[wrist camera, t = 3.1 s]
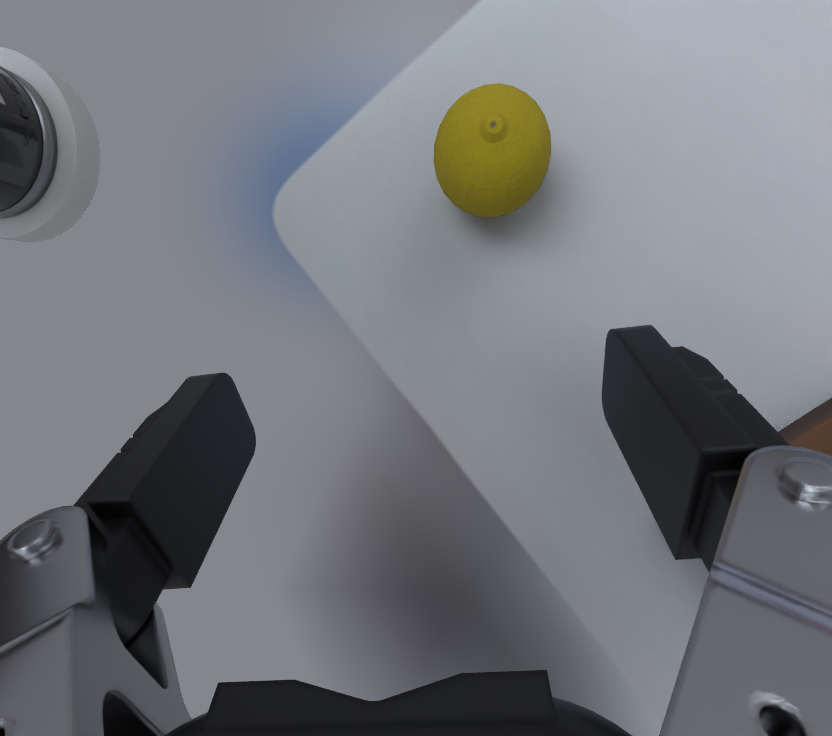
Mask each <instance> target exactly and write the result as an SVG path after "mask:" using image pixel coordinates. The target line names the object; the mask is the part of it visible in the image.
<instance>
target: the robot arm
mask: <svg viewBox="0 0 832 736" xmlns="http://www.w3.org/2000/svg"><path fill="white" fill-rule="evenodd" d="M57 154H58V145H57V135H56V130H55V126H54V122H53V119H52V117H51V114H50V112H49V110H48V108H47V106H46V104H45V102H44V100H43V99H42V97H41V96H40V95H39V93H38V92H37V91H36V90H35V89H34V88H33V87H32V86H31V85H30V84H29V83H28V82H27V81H26V80H24V79H23V78H22V77H20V76H18V75H17V74H15V73H13V72H11V71H9V70H7V69H5V68H3V67H1V66H0V218H9V217H14V216H17V215H20V214H22V213H24V212H26V211H27V210H29V209H30V208H32V207H33V206H34V205H35V204H36V203H37V202H39V200H40V199H41V198H42V197H43V196H44V194H45V193H46V191H47V189H48V188H49V186H50V184H51V181H52V179H53V176H54V173H55V169H56V164H57ZM602 405H603V411H604V415H605V419H606V421H607V424H608V426H609V428H610V430H611V432H612V434H613V436H614V438H615V440H616V442H617V444H618V446H619V448H620V450H621V452H622V454H623V456H624V458H625V460H626V462H627V464H628V466H629V468H630V470H631V472H632V474H633V476H634V478H635V480H636V482H637V484H638V486H639V488H640V490H641V492H642V494H643V496H644V498H645V500H646V502H647V504H648V506H649V508H650V510H651V512H652V514H653V516H654V518H655V520H656V522H657V524H658V526H659V528H660V530H661V532H662V534H663V536H664V538H665V540H666V542H667V544H668V546H669V548H670V550H671V552H672V554H673V556H674V558H675V560H679V559H695V558H702V560H703V562H704V564H705V566H706V568H707V569H708V571H709V577H708V580H707V583H706V586H705V589H704V593H703V596H702V599H701V602H700V606H699V609H698V612H697V615H696V618H695V622H694V625H693V628H692V631H691V635H690V638H689V641H688V644H687V648H686V651H685V654H684V657H683V660H682V664H681V667H680V670H679V673H678V677H677V680H676V683H675V686H674V689H673V693H672V696H671V699H670V702H669V706H668V709H667V712H666V715H665V719H664V722H663V725H662V728H661V731H660V735H659V736H832V456H830V455H828V454H825V453H822V452H819V451H815V450H812V449H807V448H803V447H796V446H791V445H790V444H789V443H788V442H787V441H786V440H785V439H784V438H783V437H782V436H781V435H780V434H779V433H778V432H777V431H776V430H775V429H774V428H773V427H772V426H771V425H770V424H769V423H768V422H767V421H766V420H765V419H764V417H763V416H762V415H761V414H760V413H759V412H758V411H757V410H756V409H755V408H754V407H753V406H752V405H751V404H750V403H749V402H748V401H747V400H746V399H745V398H744V397H743V396H742V395H741V394H738V393H737V389H736V388H735V387H734V386H733V385H732V384H731V383H730V382H729V381H728V380H727V379H726V380H724V378H723V375H722V374H721V373H720V372H719V371H718V370H717V369H716V368H715V367H714V366H713V365H712V364H711V362H710V361H709V360H708V359H706V358H704V357H702V356H700V355H698V354H696V353H694V352H692V351H690V350H688V349H686V348H685V347H683V346H681V347H671V346H670V345H669V344H668V343H667V342H666V340H665V339H664V338H663V337H662V336H661V335H660V334H659V332H658V331H657V330H656V329H655V328H654V327H653V326H651V325H644V326H635V327H627V328H618V329H611V330H609V332H608V334H607V338H606V346H605V359H604V372H603V384H602ZM255 446H256V436H255V431H254V427H253V425H252V423H251V420H250V418H249V416H248V413H247V411H246V409H245V406H244V404H243V402H242V400H241V397H240V395H239V393H238V391H237V388H236V386H235V383H234V382H233V380H232V378H231V377H230V376H229V375H228V374H226V373H217V374H207V375H199V376H191V377H189V378H187V379H186V380H185V381H184V383H183V384H182V385H181V386H180V388H179V389H178V390H177V391H176V392H175V394H174V395H173V396H172V397H171V399H170V400H169V401H168V402H167V403H166V404H164V405H163V406H162V407H160V408H159V409H158V410H156V411H155V412H154V413H152V414H151V415H150V416H148V417H147V418H146V419H145V421H144V422H143V423H142V424H141V425H140V427H139V428H138V429H137V430H136V431H135V432H134V434H133V438H129V440H128V441H127V442H126V443H125V444H124V446H123V447H122V448H121V453H117V454H116V455H115V456H114V458H113V459H112V460H111V461H110V462H109V464H108V465H107V466H106V467H105V468H104V470H103V471H102V472H101V473H100V475H99V476H98V477H97V478H96V479H95V480H94V482H93V483H92V484H91V485H90V487H88V489H87V490H86V491H85V492H84V493H83V495H82V496H81V497H80V498H79V499H78V501H77V502H76V503H75V504H74V505H73V506H62V507H58V508H54V509H51V510H48V511H45V512H43V513H41V514H39V515H36V516H34V517H32V518H31V519H29V520H27V521H26V522H24V523H22V524H21V525H19V526H18V527H16V528H15V529H13V530H12V531H11V532H10V533H8V534H7V535H6V536H5V537H4V538H3V539H2V540H0V736H632V735H630V734H629V733H628V732H626V731H625V730H623V729H622V728H620V727H619V726H618V725H616V724H614V723H613V722H611V721H609V720H607V719H606V718H604V717H602V716H600V715H599V714H597V713H595V712H593V711H591V710H589V709H586V708H584V707H581V706H579V705H576V704H574V703H572V702H569V701H565V700H562V699H558V698H554V697H552V695H551V690H550V684H549V679H548V674H547V670H535V671H509V672H483V673H461V674H458V675H455V676H452V677H449V678H446V679H443V680H440V681H437V682H434V683H431V684H428V685H426V686H422V687H419V688H416V689H413V690H410V691H407V692H404V693H402V694H399V695H395V696H393V697H390V698H387V699H384V700H380V701H366V700H362V699H359V698H355V697H352V696H349V695H345V694H342V693H338V692H335V691H331V690H328V689H324V688H321V687H318V686H314V685H311V684H307V683H304V682H300V681H297V680H274V681H249V682H222V683H218V685H217V688H216V691H215V694H214V697H213V699H212V702H211V705H210V708H209V711H208V712H207V713H205V714H203V715H201V716H198V717H196V718H194V719H191V717H190V715H189V713H188V711H187V709H186V707H185V704H184V702H183V698H182V695H181V691H180V686H179V682H178V677H177V673H176V668H175V664H174V659H173V655H172V651H171V647H170V641H169V637H168V633H167V628H166V624H165V619H164V615H163V612H162V609H161V608H160V606H159V605H158V604H157V603H156V601H157V599H158V597H159V595H160V593H161V592H162V590H163V589H175V588H191V586H192V584H193V582H194V580H195V577H196V575H197V573H198V571H199V569H200V567H201V565H202V563H203V561H204V558H205V556H206V554H207V552H208V550H209V548H210V546H211V543H212V541H213V539H214V537H215V535H216V533H217V531H218V529H219V527H220V525H221V523H222V520H223V518H224V516H225V514H226V512H227V510H228V508H229V506H230V504H231V501H232V499H233V497H234V495H235V493H236V491H237V489H238V487H239V485H240V482H241V480H242V478H243V476H244V474H245V472H246V470H247V468H248V465H249V463H250V461H251V459H252V457H253V455H254V451H255Z"/></svg>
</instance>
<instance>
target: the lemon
mask: <svg viewBox="0 0 832 736" xmlns="http://www.w3.org/2000/svg"><path fill="white" fill-rule="evenodd" d="M550 155H551V140H550V131H549V128H548V124H547V121H546V118H545V115H544V114H543V112H542V111H541V109H540V107H539V106H538V104H537V103H536V101H534V100H533V99H532V98H531V97H530V96H529V95H528V94H527V93H526V92H524V91H521V90H519V89H517V88H515V87H513V86H509V85H504V84H489V85H484V86H481V87H478V88H475V89H473V90H471V91H469V92H468V93H466V94H465V95H463V96H462V97H460V98H459V99H458V100H457V101H456V102H455V103H454V104H453V106H452V107H451V108H450V109H449V110H448V112H447V113H446V115H445V117H444V119H443V121H442V122H441V124H440V126H439V130H438V133H437V137H436V140H435V144H434V166H435V171H436V176H437V179H438V182H439V184H440V186H441V188H442V190H443V192H444V194H445V195H446V196H447V197H448V198H449V199H450V201H451V202H452V203H453V204H454V205H455V206H457V207H458V208H460V209H461V210H463V211H464V212H466V213H469V214H472V215H475V216H478V217H490V218H491V217H496V216H502V215H506V214H508V213H510V212H512V211H514V210H517V209H518V208H519V207H521V206H522V205H523V204H524V203H526V202H527V201H528V200H530V198H531V197H532V196H533V195H534V193H535V192H536V191H537V189H538V188H539V187H540V185H541V183H542V181H543V179H544V177H545V174H546V172H547V170H548V165H549V160H550Z"/></svg>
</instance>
